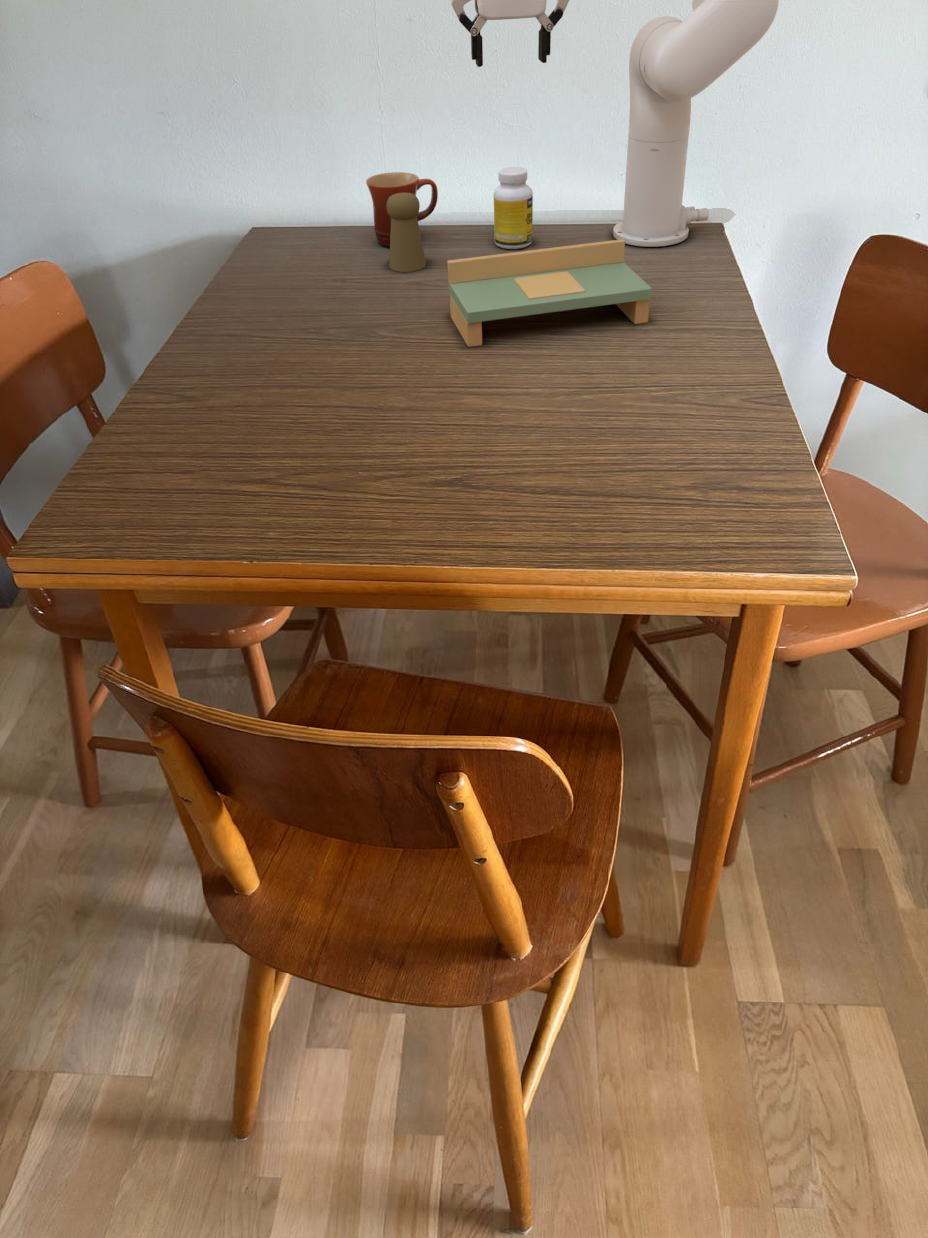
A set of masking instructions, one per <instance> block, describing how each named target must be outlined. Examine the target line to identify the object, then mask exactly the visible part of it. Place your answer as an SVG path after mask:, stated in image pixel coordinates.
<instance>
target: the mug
mask: <svg viewBox="0 0 928 1238" xmlns="http://www.w3.org/2000/svg"><path fill="white" fill-rule="evenodd" d="M365 183H366V186H367V188H368V191H369V194H370V197H371V203H372V213H373V214H372V215H373V225H374V226H373V227H374V232H375V237H376V241H377V243H378V244H380V245H381V246H382V247H384V248H390V236H391V217H390V215H389V214H388V211H387V206H386V205H387V201H388V198H389V197H390V196H392V195H393V194H397V193H412V194H414V195H416V196H417V192H418V191H419V190H420V189H421V188H422V187H423V186H427V185H429V186H430V188H431V197H430V203H429V204H428V206H427V207H426V208H425V209H424V210H421V211H419V213H418V215H417V220H418V222H419V221H422V220H425V219H426V218H427V217H429V216H431V214H432V213H434V211H435V209H436V206H437V203H438V197H439V194H438V193H439V192H438V185H437V184H436V182H435V180H432V179H430V178H419V176H418V175H417V174H414V173H411V172H404V171H403V172H401V171H399V172H398V171H397V172H396V171H395V172H384V173H379V174H374V175H372V176H370V177H368V178H366V181H365Z"/></svg>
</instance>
